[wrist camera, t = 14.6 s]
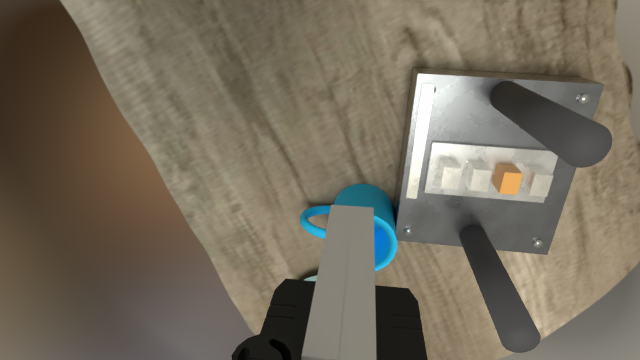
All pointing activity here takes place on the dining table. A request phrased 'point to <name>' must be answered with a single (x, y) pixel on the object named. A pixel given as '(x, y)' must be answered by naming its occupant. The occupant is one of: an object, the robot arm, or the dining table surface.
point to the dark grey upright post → (499, 292)
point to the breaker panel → (481, 160)
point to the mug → (382, 219)
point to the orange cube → (507, 179)
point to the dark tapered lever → (553, 124)
